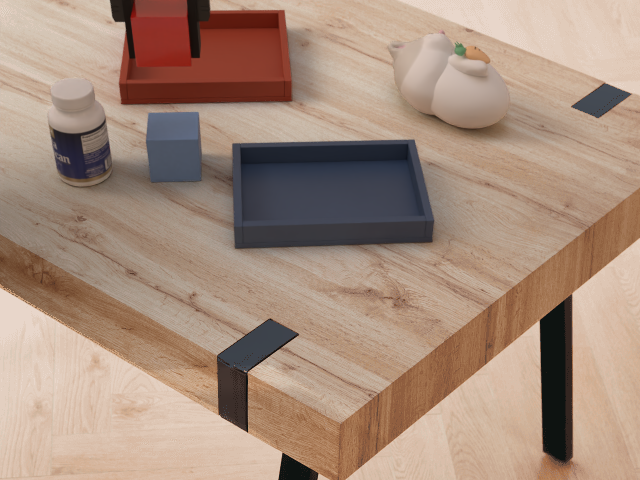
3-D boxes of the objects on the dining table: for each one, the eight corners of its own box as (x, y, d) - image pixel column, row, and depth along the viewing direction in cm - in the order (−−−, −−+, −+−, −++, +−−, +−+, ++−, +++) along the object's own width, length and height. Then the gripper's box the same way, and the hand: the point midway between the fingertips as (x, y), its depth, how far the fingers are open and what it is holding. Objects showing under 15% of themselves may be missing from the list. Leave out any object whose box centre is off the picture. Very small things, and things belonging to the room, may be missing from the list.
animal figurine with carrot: (525, 55, 110) (402, -1, 115) (485, 118, 109) (362, 58, 113) (527, 100, 119) (413, 46, 124) (490, 158, 118) (376, 101, 122)
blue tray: (234, 248, 100) (233, 226, 98) (233, 164, 110) (232, 143, 108) (432, 242, 102) (434, 220, 100) (413, 160, 112) (414, 139, 110)
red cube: (136, 67, 99) (130, 17, 95) (141, 40, 102) (135, -9, 99) (191, 66, 99) (187, 17, 96) (194, 40, 103) (189, -9, 99)
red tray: (121, 104, 117) (118, 83, 116) (130, 30, 130) (128, 10, 128) (291, 101, 120) (291, 80, 118) (284, 29, 132) (284, 9, 130)
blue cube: (150, 182, 107) (145, 140, 104) (152, 154, 111) (148, 112, 107) (201, 181, 108) (198, 139, 104) (201, 152, 111) (198, 111, 108)
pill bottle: (46, 172, 107) (30, 87, 101) (90, 150, 111) (77, 66, 104) (80, 195, 105) (65, 109, 98) (124, 172, 108) (112, 87, 102)
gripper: (13, -198, 82) (62, 72, 97) (252, -196, 83) (262, 70, 99) (29, -229, 87) (72, 32, 103) (252, -226, 89) (262, 31, 104)
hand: (165, 50), depth 101 cm, fingers closed on red cube, 5 cm apart
